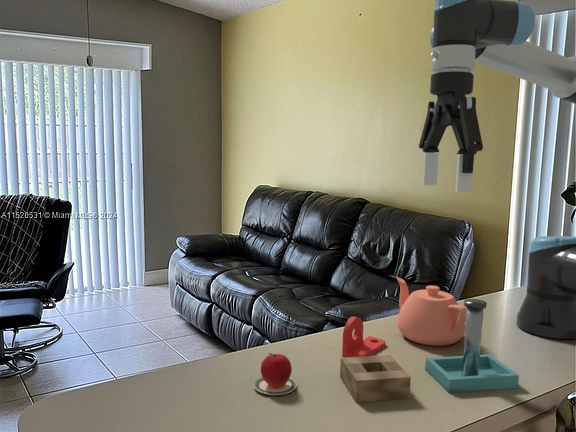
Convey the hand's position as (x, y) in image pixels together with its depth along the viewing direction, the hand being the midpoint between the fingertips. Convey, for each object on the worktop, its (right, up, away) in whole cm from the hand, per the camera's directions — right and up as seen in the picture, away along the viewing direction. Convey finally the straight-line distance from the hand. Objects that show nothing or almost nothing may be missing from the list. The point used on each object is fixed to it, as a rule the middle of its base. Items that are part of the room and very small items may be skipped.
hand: (445, 188), depth 101 cm
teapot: (+3, -34, +26) cm, 43 cm away
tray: (+6, -37, +3) cm, 37 cm away
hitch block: (-14, -37, -1) cm, 39 cm away
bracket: (-13, -35, +17) cm, 41 cm away
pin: (+6, -36, +3) cm, 37 cm away
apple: (-32, -37, -2) cm, 49 cm away
